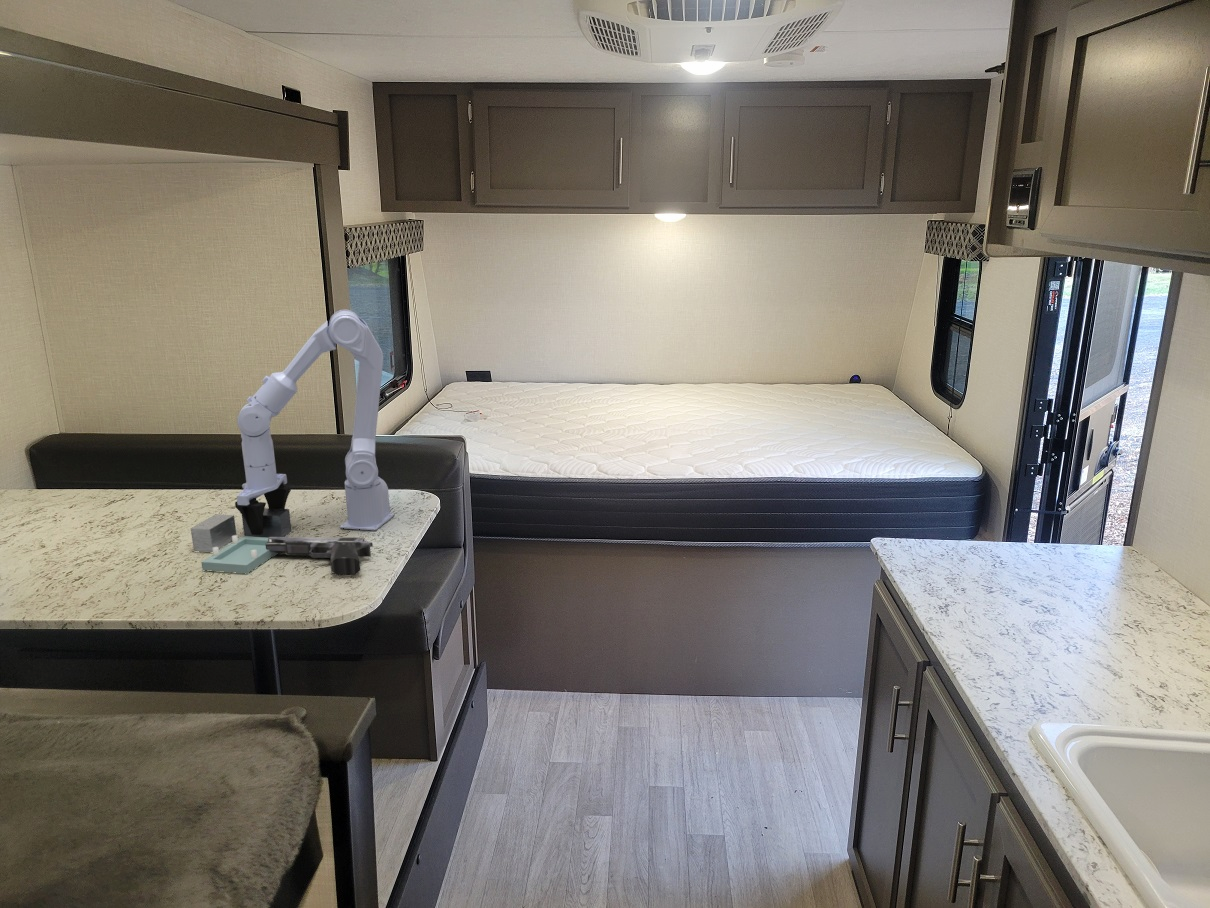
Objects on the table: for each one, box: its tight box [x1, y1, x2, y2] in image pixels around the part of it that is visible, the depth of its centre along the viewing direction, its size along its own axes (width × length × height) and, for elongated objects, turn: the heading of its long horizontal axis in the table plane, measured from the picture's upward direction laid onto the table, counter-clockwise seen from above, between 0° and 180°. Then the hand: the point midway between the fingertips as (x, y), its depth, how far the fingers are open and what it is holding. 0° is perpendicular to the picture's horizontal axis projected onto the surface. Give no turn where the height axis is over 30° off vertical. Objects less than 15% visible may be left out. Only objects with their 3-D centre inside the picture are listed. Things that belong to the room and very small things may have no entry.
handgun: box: [265, 536, 374, 576], centre depth 155 cm, size 3×21×12 cm
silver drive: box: [190, 513, 238, 553], centre depth 165 cm, size 8×4×5 cm, turn 171°
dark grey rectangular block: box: [241, 507, 292, 538], centre depth 170 cm, size 8×4×5 cm, turn 83°
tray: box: [201, 534, 277, 575], centre depth 158 cm, size 13×9×3 cm
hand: (267, 527), depth 170 cm, fingers open, 7 cm apart
